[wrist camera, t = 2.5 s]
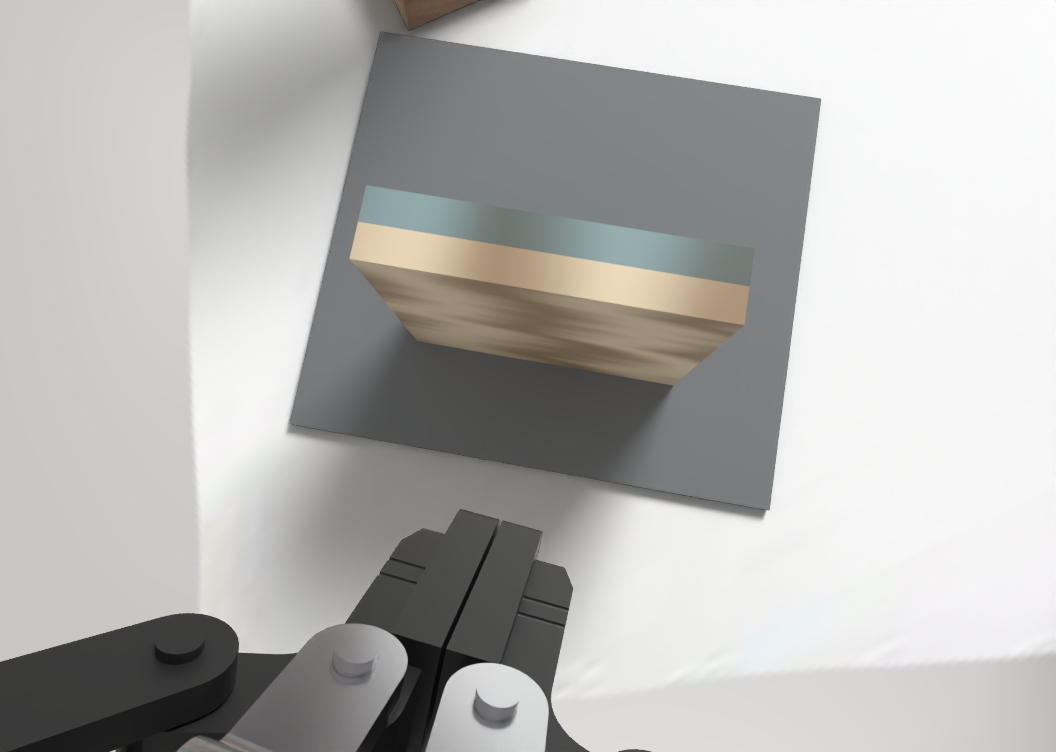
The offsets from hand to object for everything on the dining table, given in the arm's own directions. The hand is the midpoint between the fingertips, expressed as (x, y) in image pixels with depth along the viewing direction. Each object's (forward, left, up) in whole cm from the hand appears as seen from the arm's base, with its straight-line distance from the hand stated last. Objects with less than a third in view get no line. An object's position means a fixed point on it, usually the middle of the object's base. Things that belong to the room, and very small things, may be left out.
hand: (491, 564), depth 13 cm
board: (0, -8, -20) cm, 22 cm away
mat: (0, -12, -20) cm, 24 cm away
